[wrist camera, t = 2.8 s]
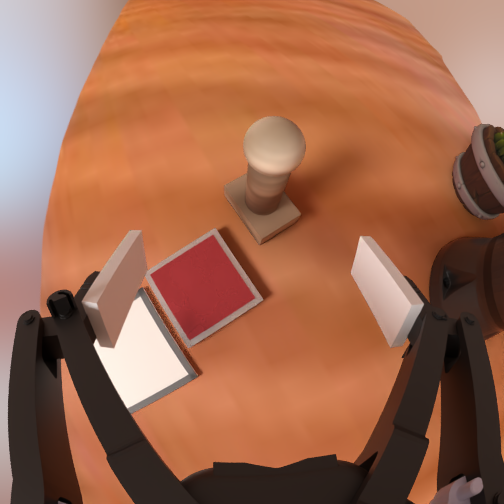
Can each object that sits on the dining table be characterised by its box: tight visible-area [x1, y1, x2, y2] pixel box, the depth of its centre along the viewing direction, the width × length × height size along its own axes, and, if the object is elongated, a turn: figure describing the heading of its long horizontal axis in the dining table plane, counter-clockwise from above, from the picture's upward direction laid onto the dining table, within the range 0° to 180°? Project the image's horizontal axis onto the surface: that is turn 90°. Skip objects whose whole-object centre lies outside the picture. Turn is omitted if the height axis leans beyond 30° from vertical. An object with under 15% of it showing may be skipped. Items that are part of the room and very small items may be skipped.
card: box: [94, 287, 198, 414], centre depth 26 cm, size 11×11×1 cm
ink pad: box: [145, 228, 263, 348], centre depth 28 cm, size 9×9×2 cm
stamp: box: [224, 116, 306, 245], centre depth 24 cm, size 7×5×15 cm
